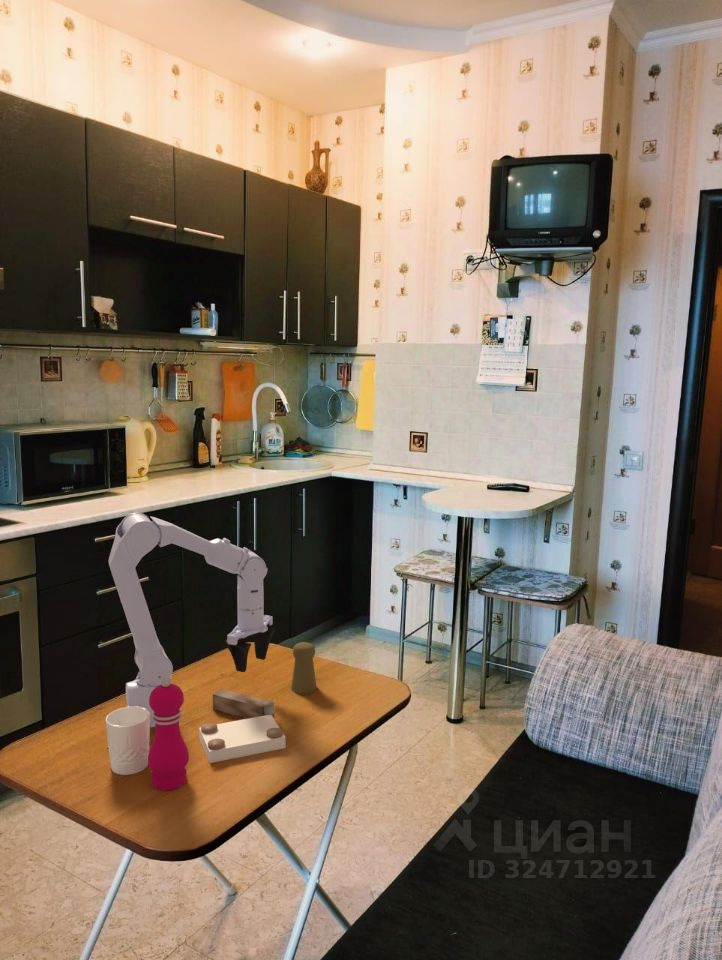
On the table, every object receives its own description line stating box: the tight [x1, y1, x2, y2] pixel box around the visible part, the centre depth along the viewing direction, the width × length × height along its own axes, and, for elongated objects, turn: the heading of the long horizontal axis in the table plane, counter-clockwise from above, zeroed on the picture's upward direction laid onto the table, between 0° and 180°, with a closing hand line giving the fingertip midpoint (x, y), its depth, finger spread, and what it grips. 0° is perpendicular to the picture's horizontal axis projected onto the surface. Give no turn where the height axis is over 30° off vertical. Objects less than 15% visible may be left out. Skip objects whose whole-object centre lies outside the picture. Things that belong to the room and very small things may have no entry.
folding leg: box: [212, 688, 275, 719], centre depth 160 cm, size 15×3×4 cm, turn 63°
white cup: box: [105, 706, 151, 776], centre depth 139 cm, size 8×8×10 cm
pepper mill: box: [147, 677, 190, 791], centre depth 134 cm, size 7×7×20 cm
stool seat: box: [198, 715, 287, 764], centre depth 148 cm, size 15×10×3 cm, turn 113°
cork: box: [290, 641, 318, 695], centre depth 173 cm, size 6×6×11 cm
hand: (251, 664), depth 166 cm, fingers open, 7 cm apart
